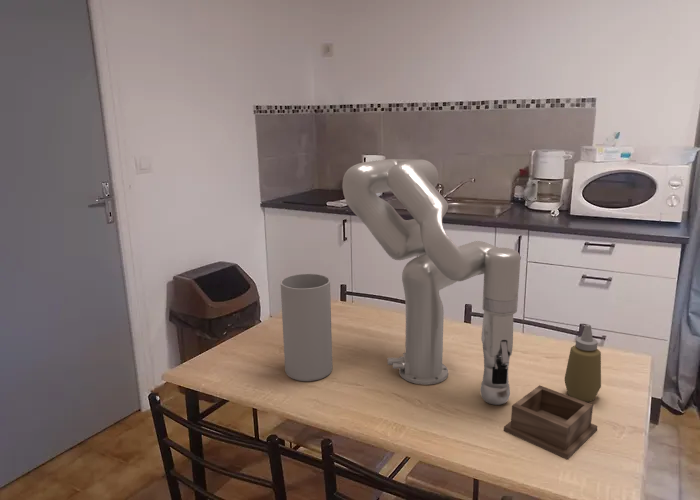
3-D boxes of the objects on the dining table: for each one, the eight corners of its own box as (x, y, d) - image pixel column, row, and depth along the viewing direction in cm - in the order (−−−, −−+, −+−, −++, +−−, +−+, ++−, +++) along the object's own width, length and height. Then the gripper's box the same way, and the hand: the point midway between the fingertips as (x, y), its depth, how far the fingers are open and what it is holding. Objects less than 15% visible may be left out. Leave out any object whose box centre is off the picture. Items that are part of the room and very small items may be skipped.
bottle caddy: (567, 459, 107) (570, 432, 106) (503, 430, 117) (505, 405, 116) (597, 429, 117) (599, 404, 115) (535, 405, 127) (537, 382, 125)
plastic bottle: (510, 409, 125) (515, 328, 120) (479, 407, 126) (483, 326, 121) (508, 395, 131) (513, 317, 126) (479, 393, 133) (483, 315, 127)
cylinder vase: (342, 369, 145) (340, 280, 139) (307, 387, 136) (303, 292, 130) (310, 356, 154) (306, 270, 147) (275, 372, 145) (270, 282, 138)
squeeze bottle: (596, 408, 125) (604, 335, 120) (559, 399, 129) (566, 328, 125) (602, 393, 132) (609, 323, 127) (566, 384, 136) (573, 316, 131)
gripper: (475, 290, 131) (472, 360, 136) (492, 318, 114) (488, 396, 119) (506, 290, 131) (502, 360, 135) (528, 317, 114) (522, 395, 119)
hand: (495, 376), depth 127 cm, fingers closed on plastic bottle, 5 cm apart
